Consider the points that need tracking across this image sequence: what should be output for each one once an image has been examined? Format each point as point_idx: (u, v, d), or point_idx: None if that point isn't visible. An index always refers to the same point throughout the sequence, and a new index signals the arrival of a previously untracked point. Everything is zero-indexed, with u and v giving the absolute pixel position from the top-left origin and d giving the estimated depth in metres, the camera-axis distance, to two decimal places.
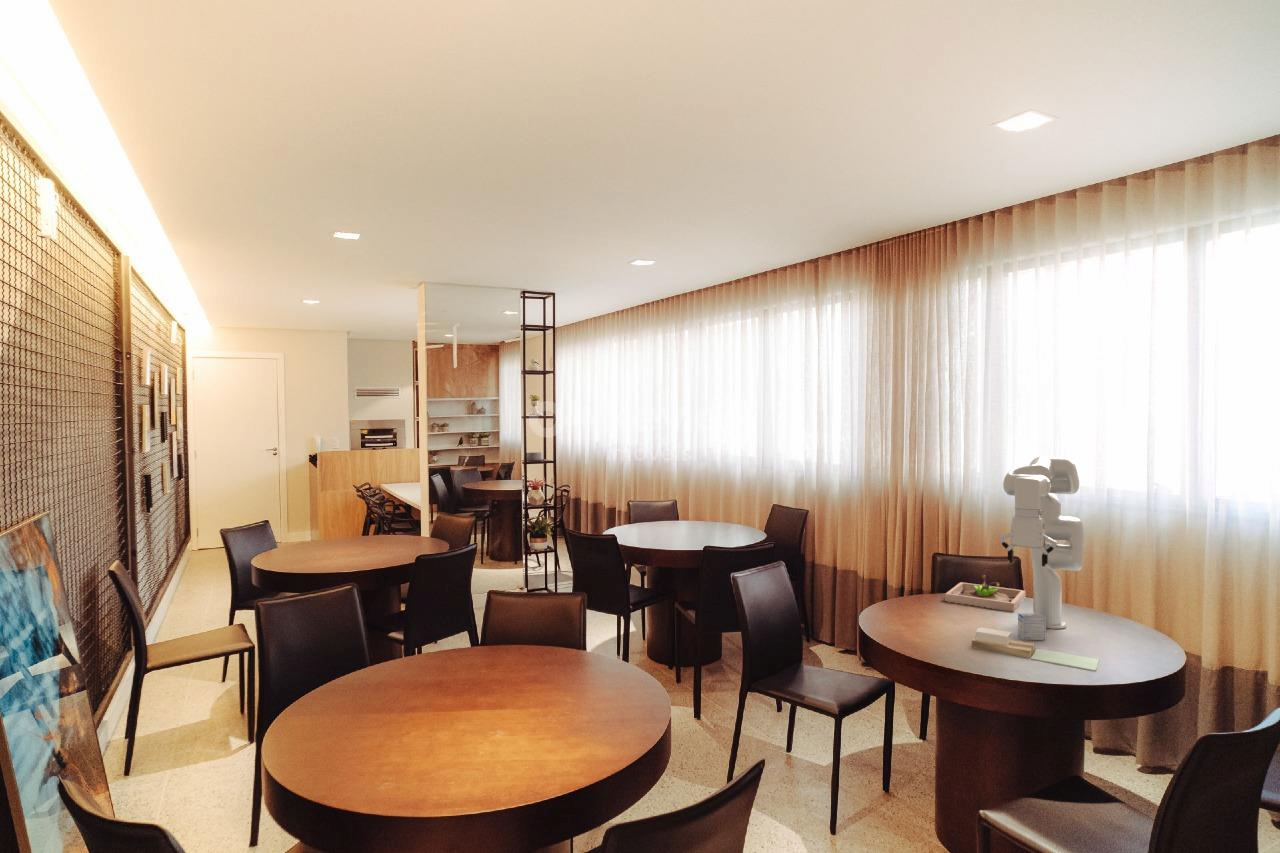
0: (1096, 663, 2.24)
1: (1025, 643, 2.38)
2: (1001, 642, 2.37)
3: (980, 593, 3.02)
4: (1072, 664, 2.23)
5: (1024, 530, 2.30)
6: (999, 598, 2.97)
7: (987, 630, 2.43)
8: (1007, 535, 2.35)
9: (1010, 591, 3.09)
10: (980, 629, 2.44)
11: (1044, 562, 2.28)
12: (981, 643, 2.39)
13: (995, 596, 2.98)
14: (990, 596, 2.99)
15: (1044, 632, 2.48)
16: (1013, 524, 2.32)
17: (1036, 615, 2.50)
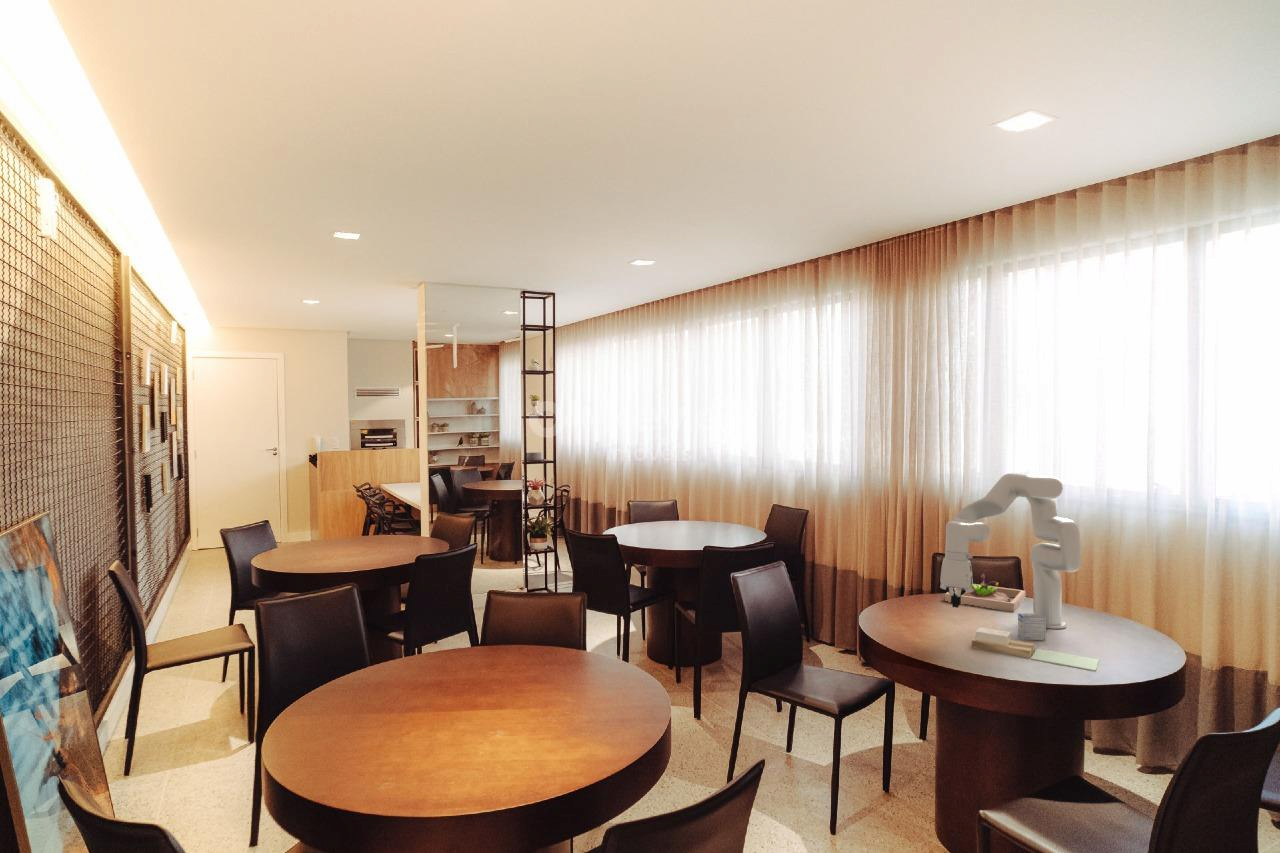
0: (1096, 663, 2.24)
1: (1025, 643, 2.38)
2: (1001, 642, 2.37)
3: (979, 592, 3.04)
4: (1072, 664, 2.23)
5: (953, 572, 2.47)
6: (998, 597, 2.98)
7: (987, 630, 2.43)
8: None
9: (1010, 591, 3.09)
10: (980, 629, 2.44)
11: (957, 603, 2.47)
12: (981, 643, 2.39)
13: (994, 595, 2.99)
14: (989, 595, 3.00)
15: (1044, 632, 2.48)
16: (943, 565, 2.49)
17: (1036, 615, 2.50)
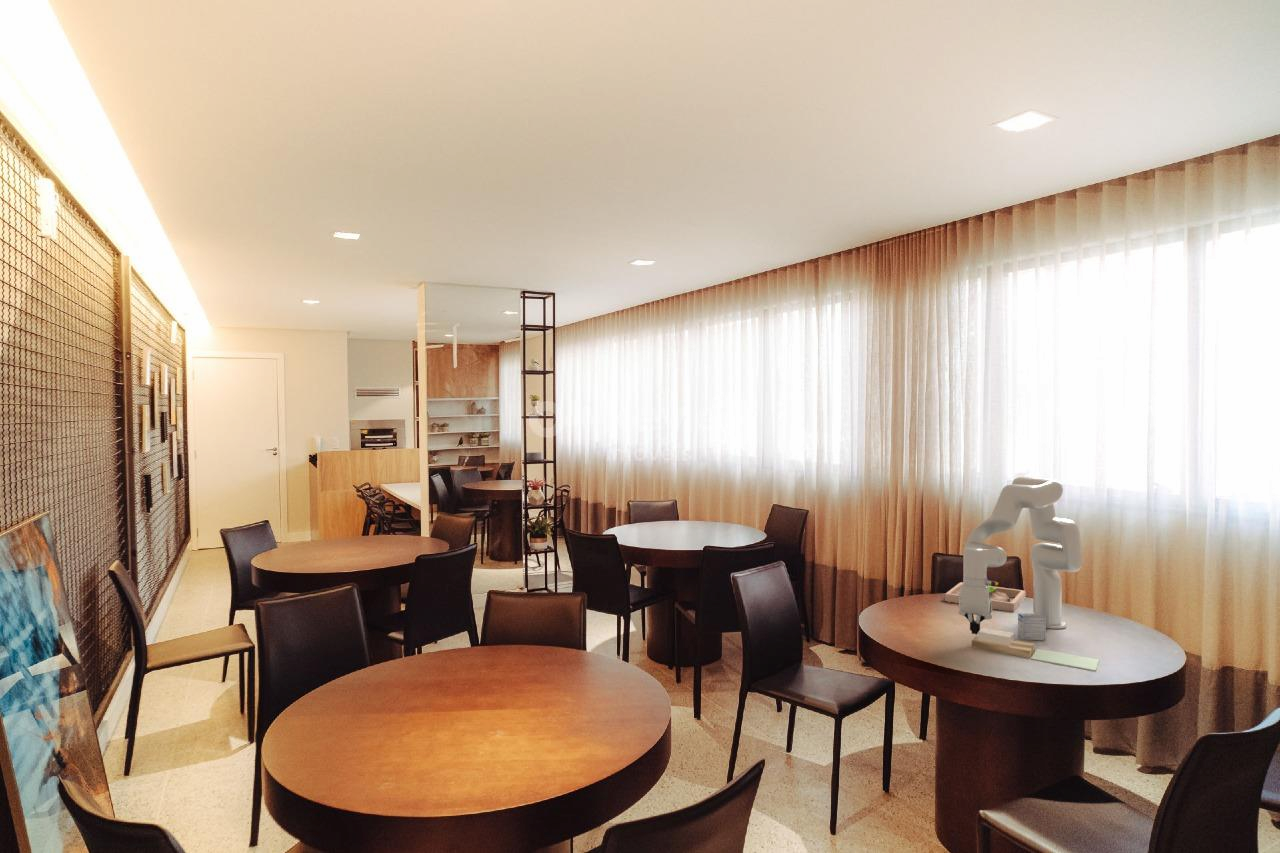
0: (1096, 663, 2.24)
1: (1025, 643, 2.38)
2: (1003, 643, 2.36)
3: None
4: (1072, 664, 2.23)
5: (972, 598, 2.43)
6: (997, 597, 2.98)
7: (989, 630, 2.42)
8: None
9: (1010, 591, 3.09)
10: (982, 629, 2.44)
11: (976, 630, 2.44)
12: (981, 643, 2.39)
13: (993, 595, 3.00)
14: None
15: (1044, 632, 2.48)
16: (961, 592, 2.46)
17: (1036, 615, 2.50)
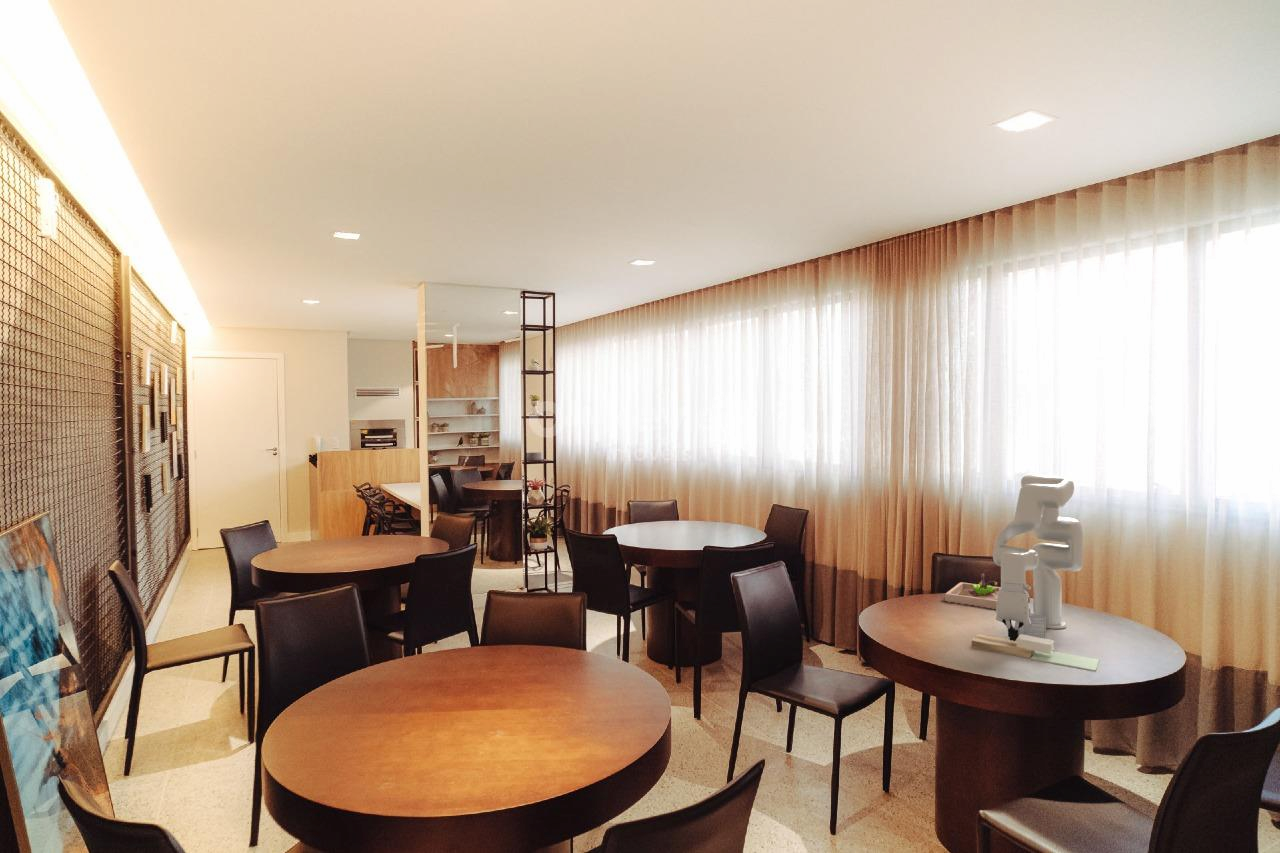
0: (1096, 663, 2.24)
1: None
2: (1043, 650, 2.29)
3: (978, 591, 3.05)
4: (1072, 664, 2.23)
5: (1010, 604, 2.36)
6: (996, 597, 2.99)
7: (1028, 637, 2.34)
8: None
9: None
10: (1021, 636, 2.36)
11: (1015, 637, 2.36)
12: (981, 643, 2.39)
13: (992, 595, 3.00)
14: (987, 595, 3.01)
15: (1044, 632, 2.48)
16: (999, 597, 2.38)
17: (1036, 615, 2.50)
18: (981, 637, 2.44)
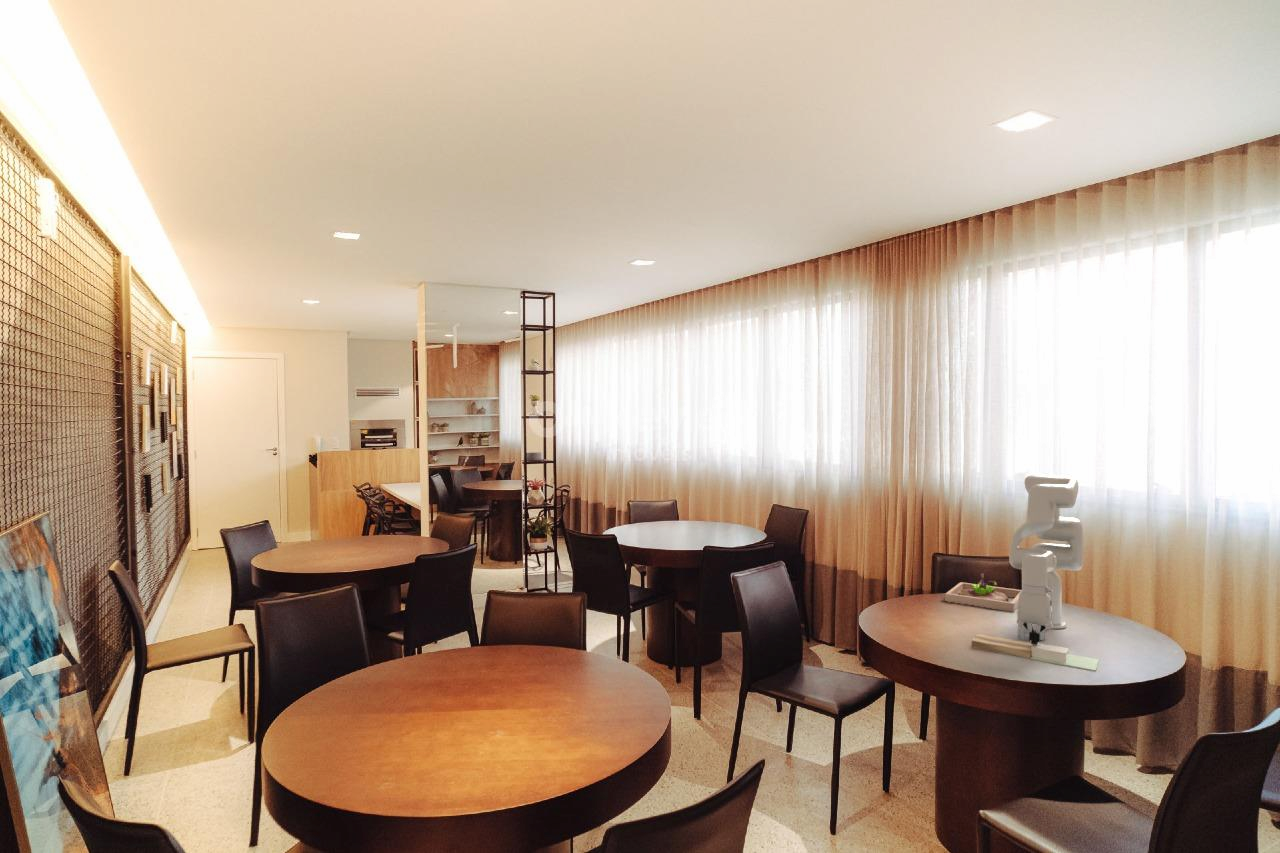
0: (1096, 663, 2.24)
1: (1025, 643, 2.38)
2: (1059, 659, 2.26)
3: (977, 591, 3.05)
4: (1072, 664, 2.23)
5: (1032, 607, 2.32)
6: (995, 597, 2.99)
7: (1043, 646, 2.32)
8: None
9: (1010, 591, 3.09)
10: (1035, 645, 2.33)
11: (1036, 640, 2.32)
12: (981, 643, 2.39)
13: (991, 595, 3.00)
14: (986, 595, 3.02)
15: (1044, 632, 2.48)
16: (1020, 600, 2.34)
17: None
18: (981, 637, 2.44)
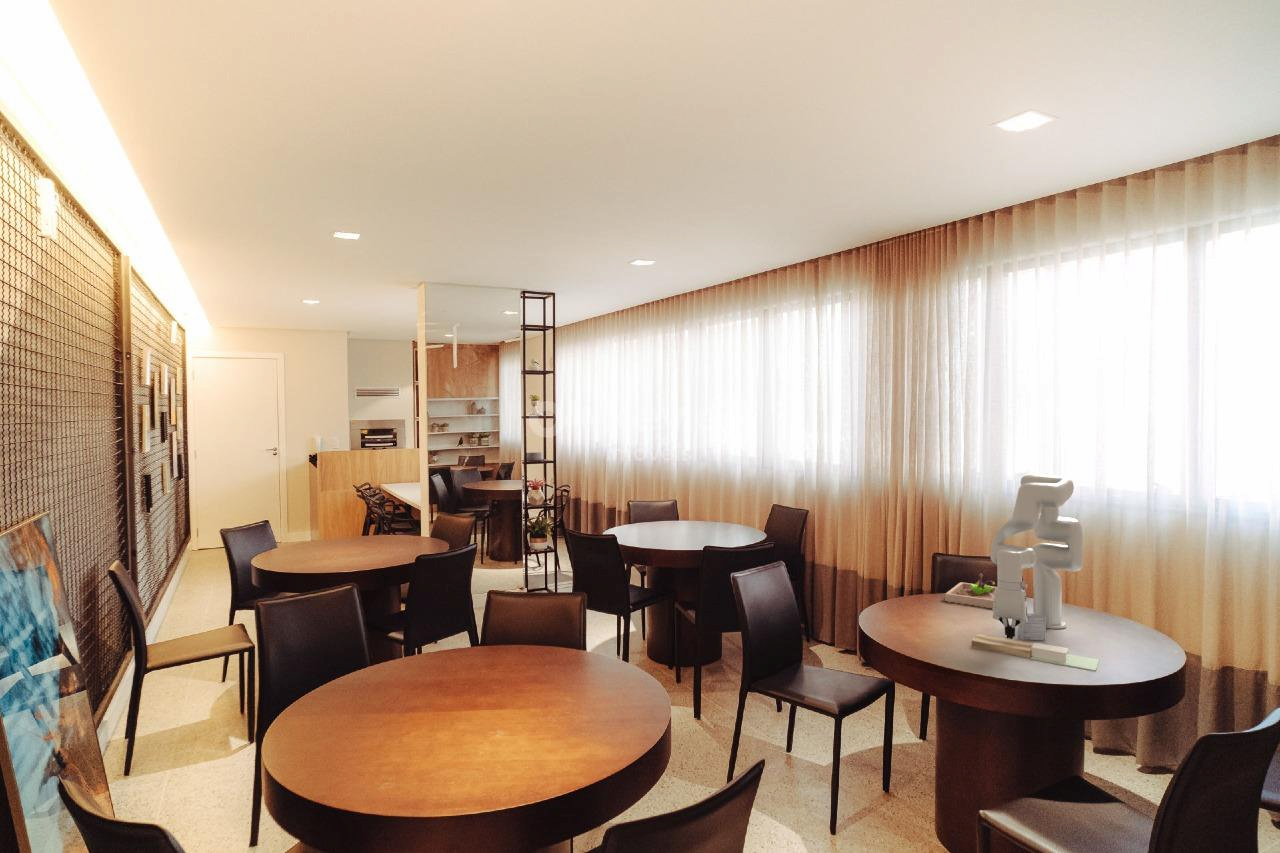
0: (1096, 663, 2.24)
1: (1025, 643, 2.38)
2: (1059, 659, 2.26)
3: (975, 591, 3.06)
4: (1072, 664, 2.23)
5: (1007, 602, 2.36)
6: (993, 596, 2.99)
7: (1043, 646, 2.32)
8: None
9: None
10: (1035, 645, 2.33)
11: (1011, 635, 2.37)
12: (981, 643, 2.39)
13: (989, 594, 3.01)
14: (985, 594, 3.02)
15: (1044, 632, 2.48)
16: (996, 595, 2.39)
17: (1036, 615, 2.50)
18: (981, 637, 2.44)
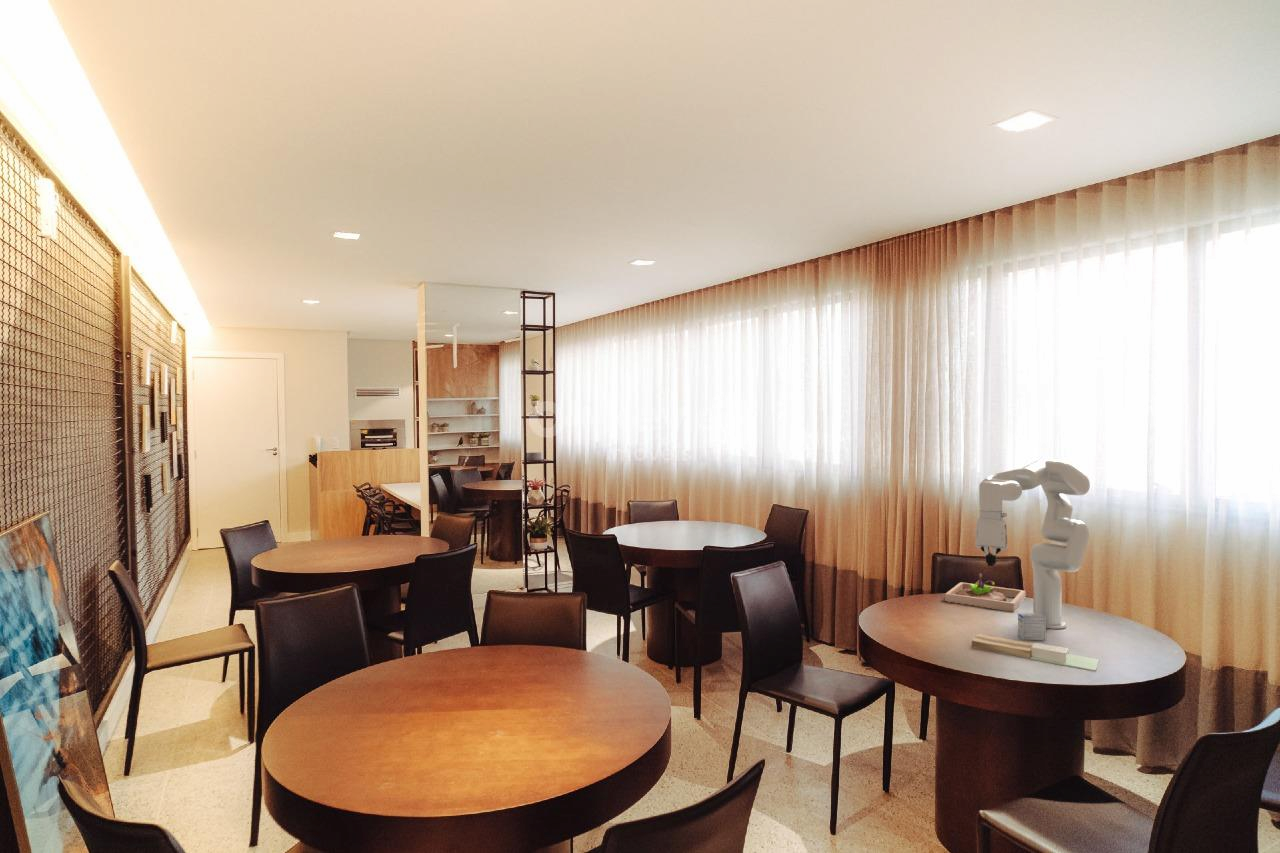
0: (1096, 663, 2.24)
1: (1025, 643, 2.38)
2: (1059, 659, 2.26)
3: (975, 591, 3.06)
4: (1072, 664, 2.23)
5: (988, 531, 2.48)
6: (992, 596, 2.99)
7: (1043, 646, 2.32)
8: None
9: (1010, 591, 3.09)
10: (1035, 645, 2.33)
11: (992, 562, 2.49)
12: (981, 643, 2.39)
13: (989, 594, 3.01)
14: (984, 594, 3.02)
15: (1044, 632, 2.48)
16: (978, 525, 2.51)
17: (1036, 615, 2.50)
18: (981, 637, 2.44)
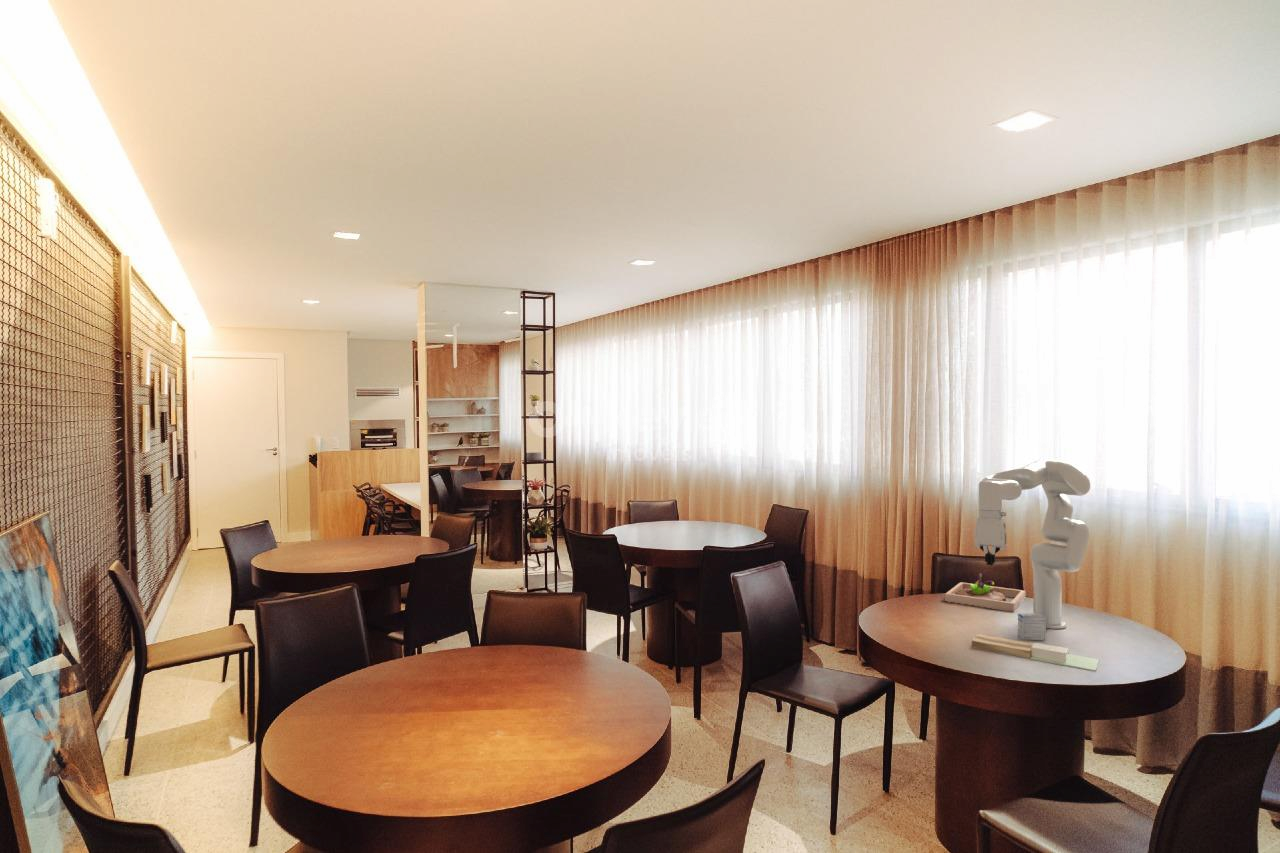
0: (1096, 663, 2.24)
1: (1025, 643, 2.38)
2: (1059, 659, 2.26)
3: (975, 591, 3.06)
4: (1072, 664, 2.23)
5: (987, 530, 2.49)
6: (992, 596, 2.99)
7: (1043, 646, 2.32)
8: None
9: (1010, 591, 3.09)
10: (1035, 645, 2.33)
11: (991, 561, 2.49)
12: (981, 643, 2.39)
13: (988, 594, 3.01)
14: (984, 594, 3.02)
15: (1044, 632, 2.48)
16: (977, 524, 2.51)
17: (1036, 615, 2.50)
18: (981, 637, 2.44)
